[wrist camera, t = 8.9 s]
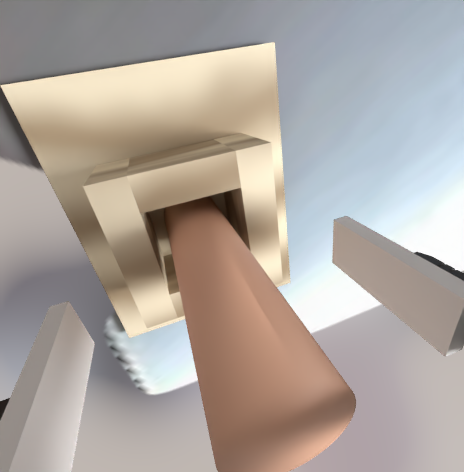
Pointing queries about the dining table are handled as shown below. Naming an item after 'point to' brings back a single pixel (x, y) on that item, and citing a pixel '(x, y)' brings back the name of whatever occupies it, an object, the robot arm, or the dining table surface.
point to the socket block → (161, 164)
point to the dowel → (251, 351)
